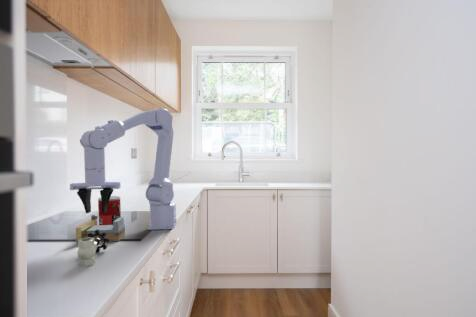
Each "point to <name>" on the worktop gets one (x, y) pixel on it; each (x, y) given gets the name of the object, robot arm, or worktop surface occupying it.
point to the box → (112, 236)
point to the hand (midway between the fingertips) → (96, 212)
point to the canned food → (109, 211)
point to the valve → (90, 248)
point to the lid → (108, 227)
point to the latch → (85, 227)
